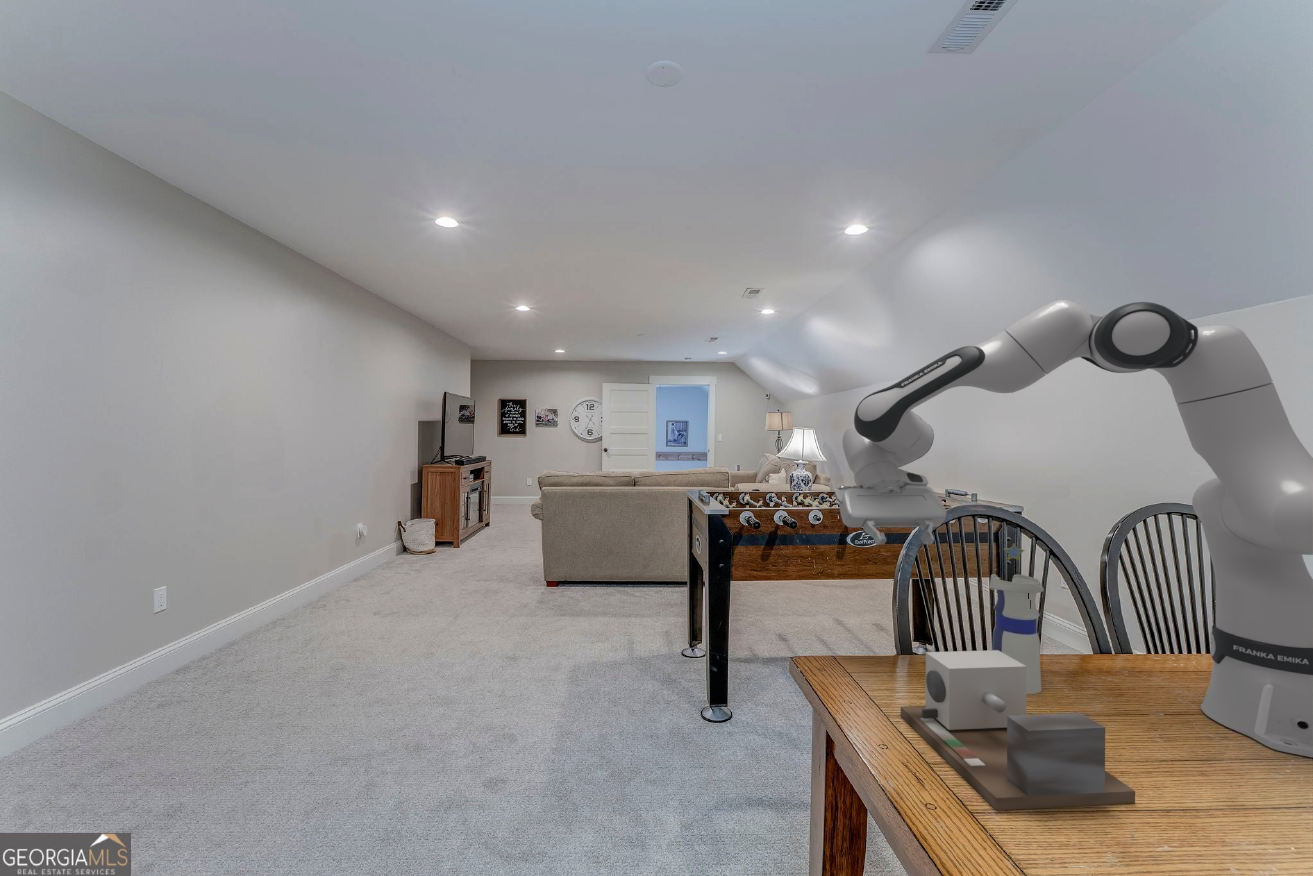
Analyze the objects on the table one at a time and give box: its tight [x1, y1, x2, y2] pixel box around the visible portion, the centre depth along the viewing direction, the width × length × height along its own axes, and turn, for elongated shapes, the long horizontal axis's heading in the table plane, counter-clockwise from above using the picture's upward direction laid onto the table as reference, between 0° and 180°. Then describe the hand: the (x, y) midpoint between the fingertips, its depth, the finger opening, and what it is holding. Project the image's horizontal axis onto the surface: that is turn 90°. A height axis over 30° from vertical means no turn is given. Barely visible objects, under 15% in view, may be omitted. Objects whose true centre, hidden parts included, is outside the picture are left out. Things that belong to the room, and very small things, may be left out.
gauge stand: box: [900, 705, 1136, 811], centre depth 77 cm, size 22×18×10 cm
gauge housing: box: [922, 649, 1027, 730], centre depth 81 cm, size 8×14×9 cm, turn 94°
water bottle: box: [988, 543, 1045, 695], centre depth 99 cm, size 8×9×25 cm
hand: (905, 542), depth 102 cm, fingers open, 8 cm apart
